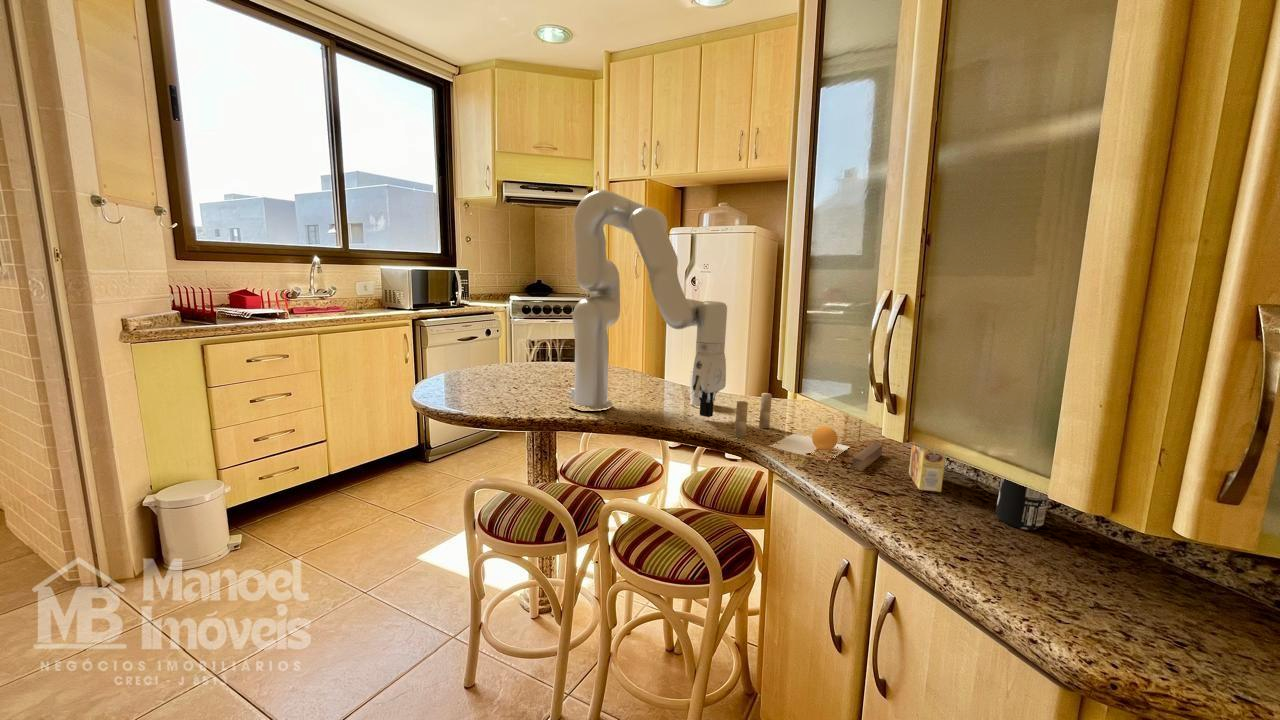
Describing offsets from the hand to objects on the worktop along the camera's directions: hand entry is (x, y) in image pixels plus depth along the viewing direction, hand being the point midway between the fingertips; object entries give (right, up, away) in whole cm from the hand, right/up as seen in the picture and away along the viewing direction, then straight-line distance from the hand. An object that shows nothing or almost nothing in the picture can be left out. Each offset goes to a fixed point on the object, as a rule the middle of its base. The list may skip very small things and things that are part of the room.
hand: (706, 415), depth 140 cm
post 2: (+15, -3, -4) cm, 15 cm away
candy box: (+39, -10, -37) cm, 54 cm away
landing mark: (+22, -6, -18) cm, 29 cm away
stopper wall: (+32, -7, -26) cm, 42 cm away
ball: (+25, -3, -20) cm, 32 cm away
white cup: (+1, +1, +16) cm, 16 cm away
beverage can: (+46, -13, -52) cm, 71 cm away
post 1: (+7, -4, -13) cm, 15 cm away
